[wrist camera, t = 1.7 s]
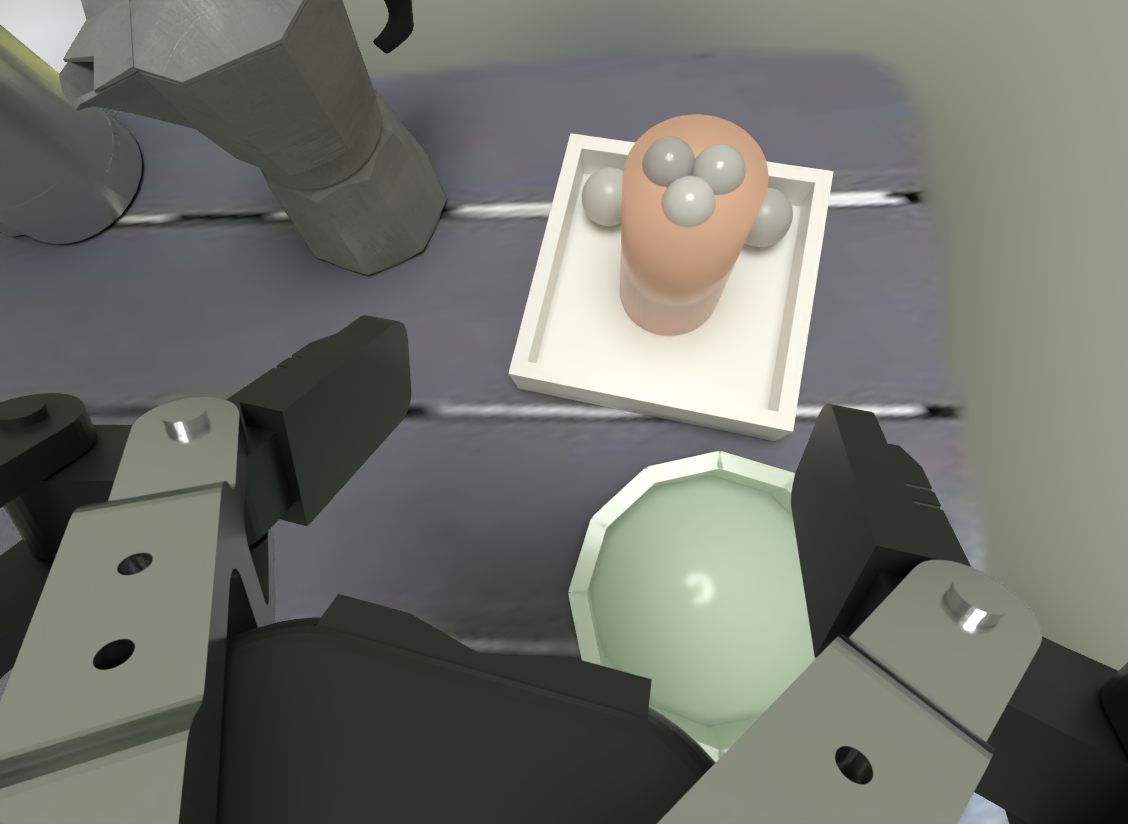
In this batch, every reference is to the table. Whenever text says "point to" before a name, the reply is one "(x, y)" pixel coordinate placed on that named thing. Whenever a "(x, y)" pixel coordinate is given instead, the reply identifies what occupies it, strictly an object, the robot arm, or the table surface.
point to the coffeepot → (273, 109)
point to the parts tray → (683, 362)
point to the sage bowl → (697, 592)
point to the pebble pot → (686, 219)
